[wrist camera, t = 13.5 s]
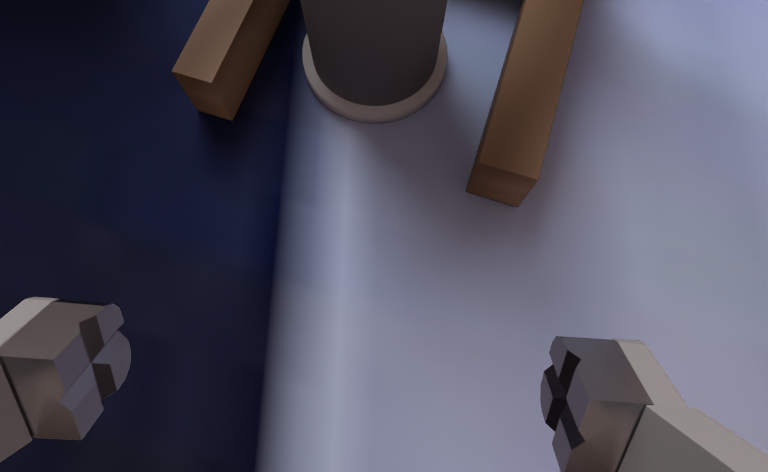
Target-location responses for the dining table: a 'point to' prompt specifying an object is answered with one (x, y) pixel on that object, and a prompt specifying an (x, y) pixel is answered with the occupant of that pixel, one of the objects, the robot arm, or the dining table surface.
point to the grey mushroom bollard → (374, 55)
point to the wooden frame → (508, 109)
